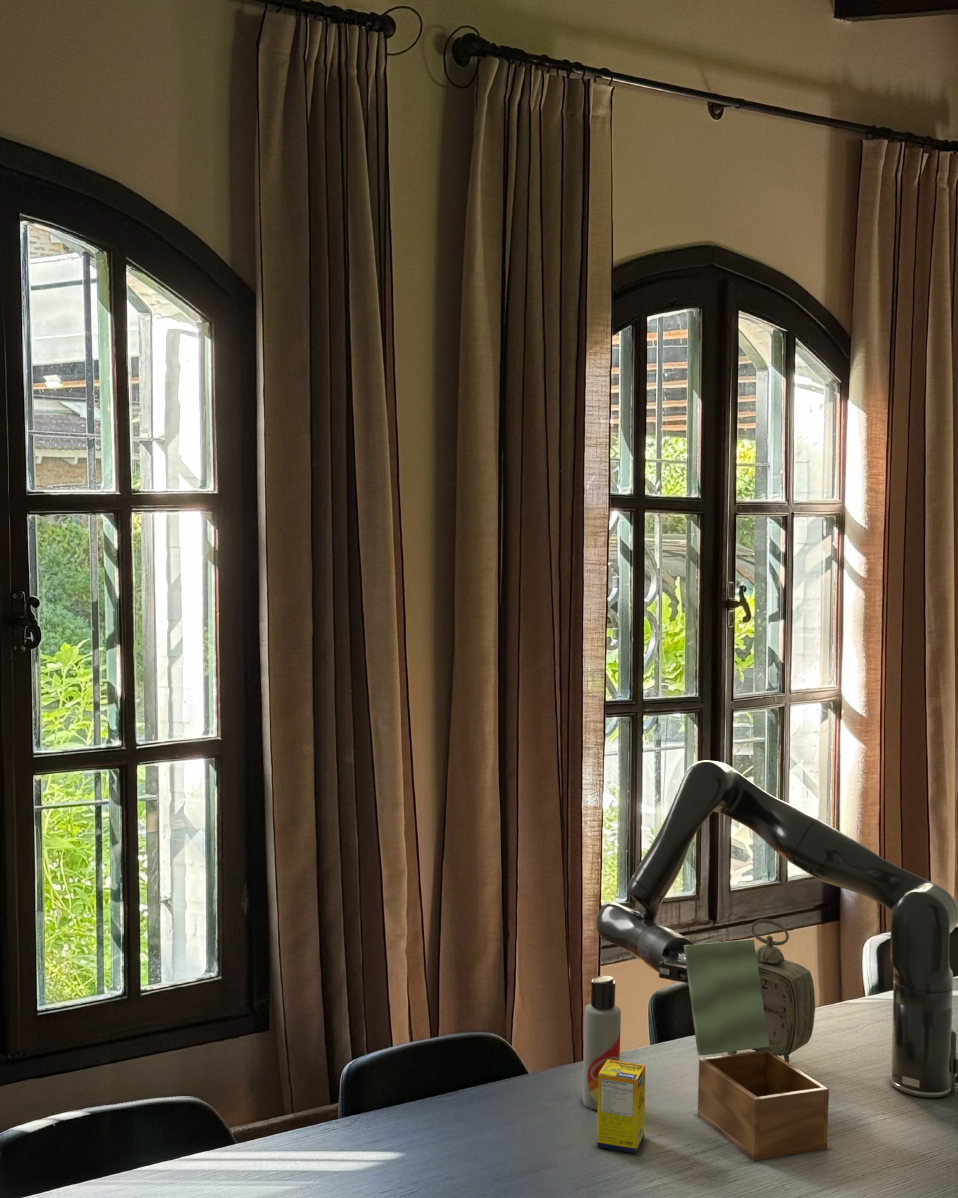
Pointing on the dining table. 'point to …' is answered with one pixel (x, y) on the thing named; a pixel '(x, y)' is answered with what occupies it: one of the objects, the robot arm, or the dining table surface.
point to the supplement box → (621, 1106)
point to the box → (763, 1104)
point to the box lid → (726, 996)
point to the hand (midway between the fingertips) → (719, 983)
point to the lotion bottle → (599, 1035)
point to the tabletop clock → (784, 997)
